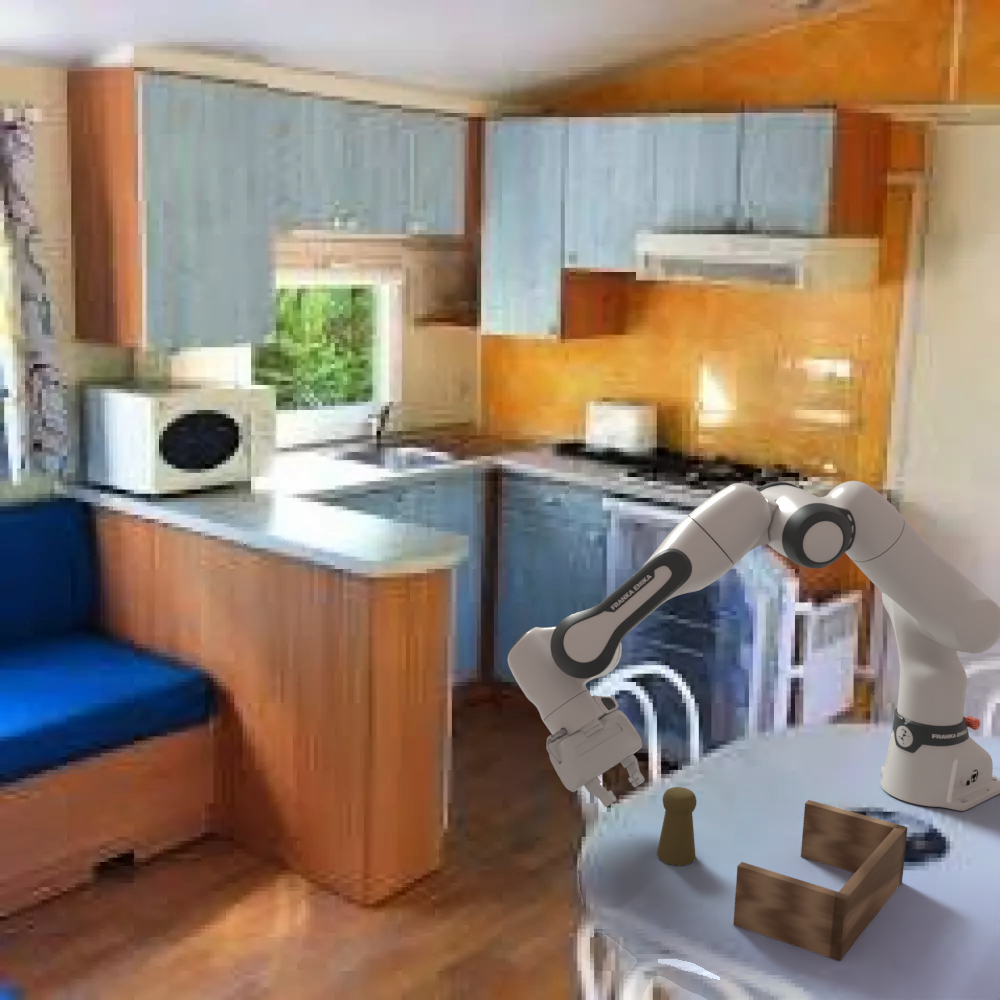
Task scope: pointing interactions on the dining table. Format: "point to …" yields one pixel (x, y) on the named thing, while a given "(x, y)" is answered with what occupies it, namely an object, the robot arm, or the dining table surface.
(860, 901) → the open-fronted crate
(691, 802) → the olive brown pawn
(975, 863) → the dining table surface
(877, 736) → the dining table surface
